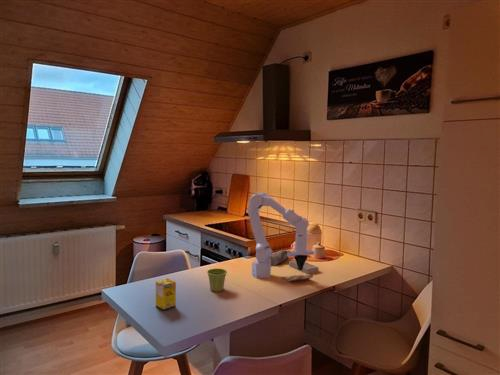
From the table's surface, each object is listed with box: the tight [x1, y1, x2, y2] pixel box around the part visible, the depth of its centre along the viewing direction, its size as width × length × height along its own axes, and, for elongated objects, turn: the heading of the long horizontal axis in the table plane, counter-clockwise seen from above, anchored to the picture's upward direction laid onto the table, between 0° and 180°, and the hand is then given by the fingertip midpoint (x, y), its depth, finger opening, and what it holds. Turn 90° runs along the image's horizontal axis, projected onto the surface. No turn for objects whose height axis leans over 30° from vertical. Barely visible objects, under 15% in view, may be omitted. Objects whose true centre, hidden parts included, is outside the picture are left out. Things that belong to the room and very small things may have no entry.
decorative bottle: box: [270, 249, 291, 267], centre depth 225 cm, size 26×8×7 cm, turn 148°
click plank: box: [285, 274, 314, 282], centre depth 189 cm, size 12×7×1 cm, turn 113°
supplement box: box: [155, 278, 177, 312], centre depth 156 cm, size 6×6×11 cm
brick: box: [288, 259, 320, 275], centre depth 208 cm, size 17×8×5 cm, turn 33°
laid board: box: [280, 274, 305, 281], centre depth 194 cm, size 13×4×1 cm, turn 113°
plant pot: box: [206, 268, 228, 292], centre depth 177 cm, size 9×9×9 cm
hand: (300, 269), depth 188 cm, fingers closed
